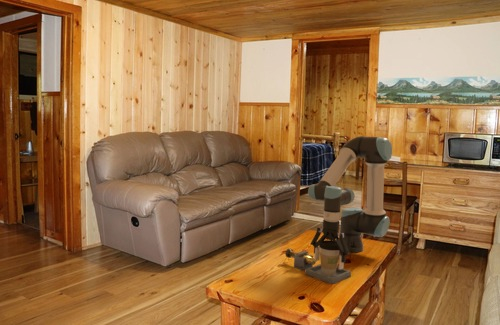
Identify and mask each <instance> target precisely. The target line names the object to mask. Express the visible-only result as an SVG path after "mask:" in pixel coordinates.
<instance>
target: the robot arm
mask: <svg viewBox="0 0 500 325" xmlns="http://www.w3.org/2000/svg"><path fill="white" fill-rule="evenodd" d="M338 153H339V154H338V155H337V157H336V158H335V160H334V161H333V162H332V164H331V165H330V166H329V168H328V169H327V170H326V172H325V173H324V175H323V176H322V178H321V179H320V180H319V182H318V183H317V184H316V183H315V184H311V185H309V187H308V189H307V190H308V191H307V196H308V197H309V198H310V199H311V200H314V201H321V202H323V221H322V226H319V227H317V228H316V232H315V234H314V237H313V238H312V239H311V242H310V245H311V246H313V254H314V259H315V261H316V262H318V261H320V247H319V245H320V244H321V241H325V240H330V241H333V242H334V243H335V244H336V246H337V248H338V250H339V258H338V267H339V269H340V270H341V269H345V268H344V266H345V265H344V264H345V262H346V259H347V258H346V257H347V256H348V255H351V253H360V252H362V251H364V243H363V238H362V234H365V235H369V236H372V237H378V238H382V237H384V236H385V235H386V234H387V233H388V231H389V228H390V224H391V221H390V220H391V219H390V217H389V216H387V212H386V210H385V209H384V185H385V166H386V165H387V164H388V161H390V160H391V159H392V155H393V146H392V143H391V141H390V139H388V138H386V137H380V136H365V135H364V136H363V135H362V136H357V137H354V138H352V139H350V140H348V141H347V142H346V143H344V145H343V146H342V147H341V148H340V149H339V152H338ZM358 158H359V159H364V163H365V165H366V166H367V171H366V172H367V174H366V176H367V177H366V178H367V179H366V183H367V184H366V208H365V209H364V210H363V208H360V207H347V208H343V209H342V210H341V207H342V206H344V205H345V206H346V205H349V204H351V203H353V201H354V200H355V192H354V191H353V190H352V189H351V188H349V187H344V188H341V187H339V186H336V185H337V184H338V182H339V181H340V179H341V178H342V176H343V175H344V173H345V171H347V169H348V167H350V166H351V165H350V164H351V163H353V162H355V161H356V159H358ZM321 234H322V236H321Z"/></svg>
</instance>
